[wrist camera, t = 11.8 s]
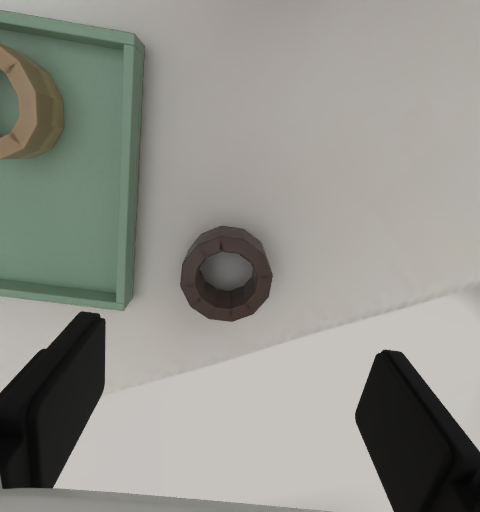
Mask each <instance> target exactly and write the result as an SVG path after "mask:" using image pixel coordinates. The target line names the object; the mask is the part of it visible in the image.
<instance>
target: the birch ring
mask: <svg viewBox="0 0 480 512" xmlns="http://www.w3.org/2000/svg"><path fill="white" fill-rule="evenodd" d="M0 70H2V71H3V72H4V73H6V75H7V77H8V79H9V81H10V82H11V84H12V86H13V88H14V90H15V91H16V93H17V95H18V108H19V118H18V119H17V121H16V123H15V125H14V127H13V129H12V131H11V132H10V133H9V134H7V135H5V136H3V135H1V134H0V160H4V159H30V158H33V157H36V156H38V155H40V154H42V153H45V152H47V151H49V150H51V149H52V148H53V147H54V145H55V143H56V141H57V140H58V138H59V136H60V135H61V133H62V131H63V130H64V100H63V98H62V96H61V94H60V92H59V90H58V88H57V86H56V84H55V83H54V81H53V79H52V77H51V75H50V74H49V73H48V72H47V71H46V70H45V69H43V68H42V67H41V66H39V65H38V64H37V63H36V62H34V61H33V60H32V59H30V58H29V57H28V56H27V55H25V54H23V53H21V52H18V51H16V50H14V49H12V48H10V47H7V46H5V45H3V44H1V43H0Z"/></svg>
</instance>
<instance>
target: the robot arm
mask: <svg viewBox="0 0 480 512" xmlns="http://www.w3.org/2000/svg"><path fill="white" fill-rule="evenodd" d="M105 324H106V323H105V319H103V318H101V317H100V314H99V313H91V312H83V311H82V312H80V313H78V315H77V316H76V317H75V318H74V319H73V320H72V321H71V322H70V323H69V325H68V326H67V327H66V328H65V329H64V330H63V331H62V332H61V333H60V335H59V336H58V337H57V338H56V339H55V340H54V341H53V342H52V343H51V345H50V346H49V347H48V348H47V349H42V350H40V351H39V352H38V353H37V354H36V355H35V356H34V357H33V358H32V359H31V360H30V361H29V362H28V364H27V365H26V366H25V367H24V368H23V369H22V370H21V371H20V372H19V373H18V374H17V375H16V377H15V378H14V379H13V380H12V381H11V382H10V383H9V384H8V385H7V386H6V387H5V388H4V389H3V391H2V392H1V393H0V512H330V511H320V510H308V509H298V508H287V507H276V506H265V505H254V504H244V503H232V502H221V501H210V500H199V499H186V498H175V497H163V496H151V495H139V494H128V493H116V492H100V491H86V490H69V489H53V487H54V485H55V483H56V481H57V479H58V477H59V475H60V473H61V471H62V469H63V468H64V466H65V464H66V462H67V460H68V458H69V456H70V454H71V452H72V450H73V449H74V447H75V445H76V443H77V441H78V439H79V437H80V435H81V433H82V431H83V429H84V428H85V426H86V424H87V422H88V420H89V418H90V416H91V414H92V412H93V410H94V408H95V406H96V405H97V403H98V401H99V399H100V397H101V395H102V393H103V389H104V384H105ZM355 419H356V424H357V426H358V428H359V431H360V433H361V435H362V438H363V440H364V442H365V445H366V447H367V450H368V452H369V454H370V457H371V459H372V461H373V464H374V466H375V468H376V471H377V473H378V475H379V478H380V480H381V483H382V485H383V487H384V489H385V492H386V494H387V497H388V499H389V501H390V504H391V506H392V508H393V511H394V512H480V452H479V450H478V449H477V448H476V446H475V445H474V444H473V443H472V441H471V440H470V439H469V437H468V436H467V435H466V434H465V432H464V431H463V430H462V428H461V427H460V426H459V425H458V423H457V422H456V421H455V419H454V418H453V417H452V416H451V414H450V413H449V412H448V410H447V409H446V408H445V407H444V405H443V404H442V403H441V402H440V400H439V399H438V398H437V397H436V395H435V394H434V393H433V392H432V390H431V389H430V387H429V386H428V385H427V384H426V382H425V381H424V380H423V379H422V377H421V376H420V375H419V373H418V372H417V371H416V369H415V368H414V367H413V366H412V364H411V363H410V362H409V360H408V359H407V358H406V357H405V355H404V354H403V353H402V352H399V351H391V350H383V351H382V352H381V353H378V354H377V355H376V357H375V359H374V362H373V365H372V368H371V371H370V373H369V376H368V379H367V382H366V384H365V387H364V390H363V393H362V395H361V398H360V401H359V404H358V407H357V409H356V413H355Z"/></svg>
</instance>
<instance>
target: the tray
mask: <svg viewBox="0 0 480 512" xmlns="http://www.w3.org/2000/svg"><path fill="white" fill-rule="evenodd" d="M0 43H1V44H3V45H5V46H7V47H10V48H12V49H14V50H16V51H18V52H21V53H23V54H25V55H27V56H28V57H29V58H30V59H32V60H33V61H34V62H36V63H37V64H38V65H39V66H41V67H42V68H43V69H45V70H46V71H47V72H48V73H49V74H50V75H51V77H52V79H53V81H54V83H55V84H56V86H57V88H58V90H59V92H60V94H61V96H62V98H63V100H64V130H63V131H62V133H61V135H60V136H59V138H58V140H57V141H56V143H55V145H54V147H53V148H52V149H51V150H49V151H47V152H45V153H42V154H40V155H38V156H36V157H33V158H30V159H4V160H0V296H4V297H12V298H21V299H29V300H37V301H45V302H54V303H62V304H70V305H79V306H87V307H95V308H103V309H112V310H120V311H124V310H125V308H126V307H127V305H128V304H129V302H130V301H131V300H132V297H133V276H134V256H135V235H136V214H137V193H138V172H139V151H140V131H141V110H142V89H143V68H144V47H145V46H144V44H143V43H142V42H141V41H140V40H139V38H138V37H137V36H136V35H135V34H134V33H129V32H123V31H118V30H112V29H106V28H100V27H95V26H89V25H83V24H77V23H72V22H66V21H60V20H55V19H49V18H43V17H37V16H32V15H26V14H20V13H15V12H9V11H3V10H0ZM18 118H19V108H18V95H17V93H16V91H15V90H14V88H13V86H12V84H11V82H10V81H9V79H8V77H7V75H6V73H4V72H3V71H2V70H0V134H1V135H3V136H5V135H7V134H9V133H10V132H11V131H12V129H13V127H14V125H15V123H16V121H17V119H18Z"/></svg>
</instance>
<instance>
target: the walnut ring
mask: <svg viewBox="0 0 480 512" xmlns="http://www.w3.org/2000/svg"><path fill="white" fill-rule="evenodd" d="M222 251H224V252H231V253H238V254H240V255H241V256H243V257H244V258H245V259H247V260H248V261H249V262H251V263H252V266H253V268H254V269H253V275H252V277H251V278H250V280H249V281H248V282H247V283H246V284H245V285H244V286H243V287H240V288H238V289H235V290H232V291H225V290H217V289H216V288H214V287H213V286H211V285H210V284H209V283H207V282H206V281H205V279H204V277H203V275H202V273H201V271H200V265H201V264H202V263H203V262H204V260H205V259H206V258H207V257H209V256H211V255H214V254H216V253H219V252H222ZM272 277H273V276H272V272H271V268H270V265H269V262H268V259H267V257H266V254H265V252H264V249H263V246H262V244H261V242H260V241H259V240H257V239H256V238H255V237H253V236H252V235H251V234H250V233H248V232H247V231H246V230H244V229H241V228H234V227H226V226H220V227H218V228H215V229H213V230H210V231H208V232H205V233H202V234H201V235H200V236H199V238H198V239H197V240H196V241H195V243H194V244H193V245H192V247H191V248H190V249H189V251H188V253H187V255H186V257H185V260H184V262H183V264H182V273H181V283H180V286H181V288H182V290H183V292H184V294H185V296H186V298H187V301H188V303H189V305H190V306H191V307H192V308H193V309H195V310H196V311H198V312H199V313H201V314H202V315H204V316H205V317H207V318H208V319H214V320H222V321H232V322H233V321H236V320H238V319H241V318H244V317H247V316H249V315H252V314H254V313H255V312H256V311H257V309H258V308H259V307H260V306H261V305H262V304H263V303H264V302H265V300H266V299H267V298H268V297H269V292H270V287H271V282H272Z"/></svg>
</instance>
